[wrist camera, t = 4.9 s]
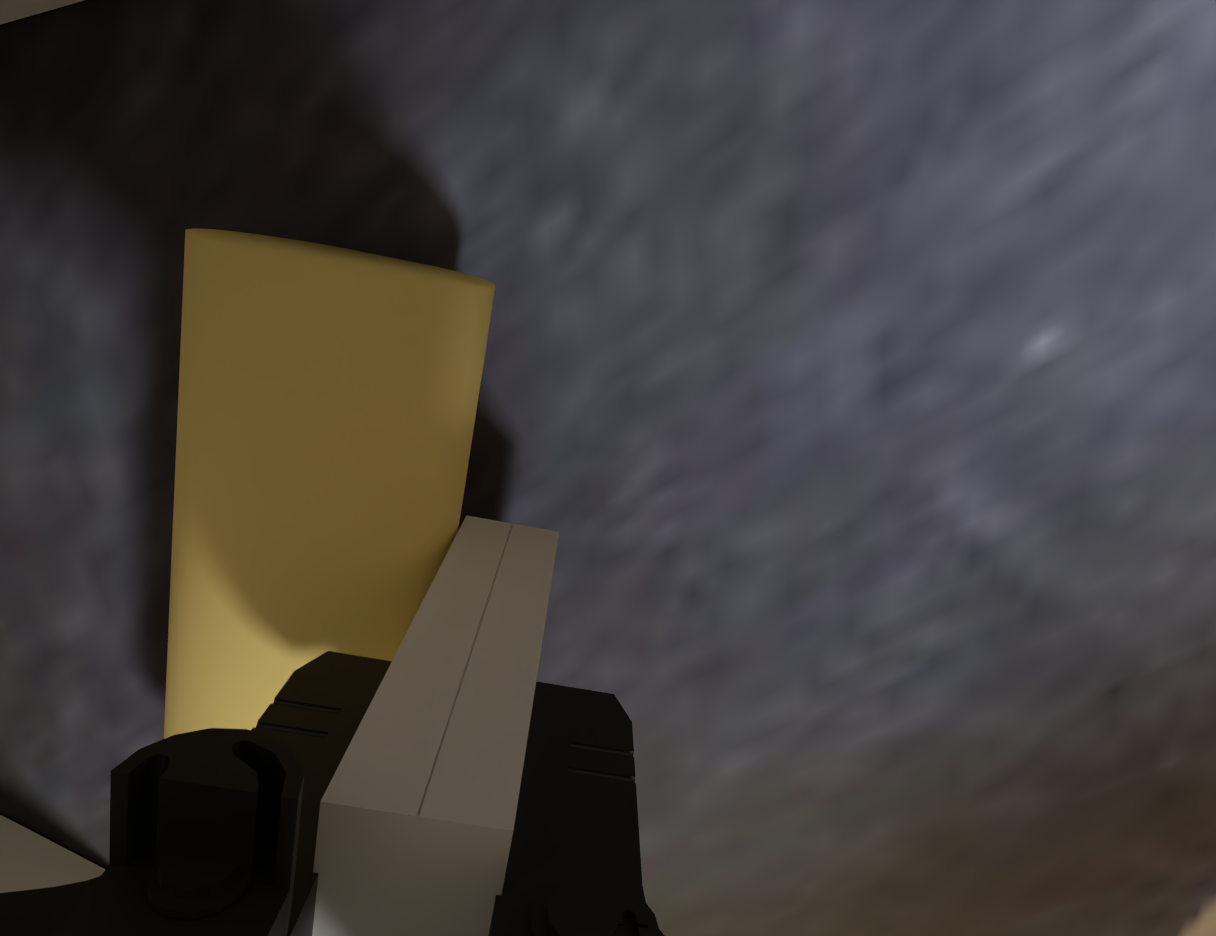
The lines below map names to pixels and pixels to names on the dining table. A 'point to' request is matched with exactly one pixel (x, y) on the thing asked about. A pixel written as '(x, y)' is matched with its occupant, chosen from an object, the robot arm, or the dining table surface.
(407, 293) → the yellow cardboard tube
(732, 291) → the dining table surface
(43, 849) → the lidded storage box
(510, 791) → the robot arm
